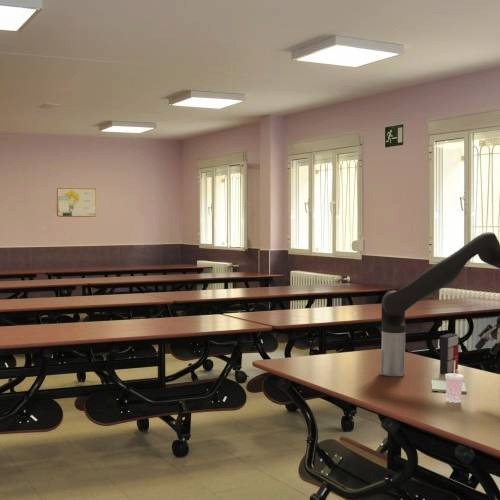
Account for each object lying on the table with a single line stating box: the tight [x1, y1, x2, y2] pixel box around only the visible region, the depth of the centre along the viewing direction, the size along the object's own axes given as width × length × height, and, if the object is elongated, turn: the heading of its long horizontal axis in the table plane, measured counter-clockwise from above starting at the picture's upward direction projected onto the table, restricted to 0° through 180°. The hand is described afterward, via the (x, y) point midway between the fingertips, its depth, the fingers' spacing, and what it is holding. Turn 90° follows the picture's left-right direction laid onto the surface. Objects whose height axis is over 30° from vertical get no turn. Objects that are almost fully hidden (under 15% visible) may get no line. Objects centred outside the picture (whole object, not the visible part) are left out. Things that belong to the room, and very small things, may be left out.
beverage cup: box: [444, 361, 465, 404], centre depth 249 cm, size 6×6×14 cm
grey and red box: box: [438, 332, 459, 375], centre depth 297 cm, size 11×4×15 cm, turn 143°
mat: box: [431, 378, 467, 395], centre depth 270 cm, size 12×18×1 cm, turn 167°
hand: (484, 350), depth 252 cm, fingers open, 8 cm apart
